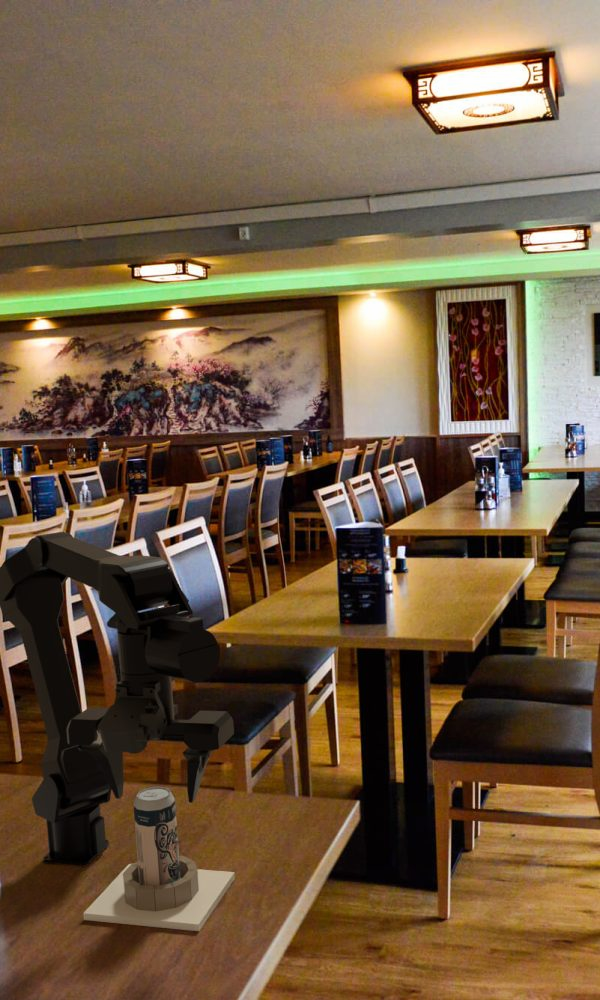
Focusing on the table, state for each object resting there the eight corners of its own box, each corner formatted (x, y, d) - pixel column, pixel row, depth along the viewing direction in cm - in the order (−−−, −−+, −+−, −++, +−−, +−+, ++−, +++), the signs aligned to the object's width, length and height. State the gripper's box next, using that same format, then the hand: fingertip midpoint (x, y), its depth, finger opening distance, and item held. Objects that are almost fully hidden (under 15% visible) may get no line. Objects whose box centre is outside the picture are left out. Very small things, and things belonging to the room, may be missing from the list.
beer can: (174, 902, 112) (166, 802, 111) (134, 901, 113) (126, 801, 111) (186, 882, 116) (179, 785, 115) (148, 881, 117) (141, 785, 116)
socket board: (84, 919, 111) (81, 892, 110) (129, 869, 122) (127, 844, 122) (198, 931, 107) (197, 902, 107) (234, 878, 118) (233, 852, 118)
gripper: (36, 687, 107) (48, 824, 108) (195, 690, 101) (205, 834, 103) (84, 660, 117) (95, 785, 119) (231, 662, 112) (239, 793, 114)
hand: (155, 799), depth 113 cm, fingers open, 9 cm apart
